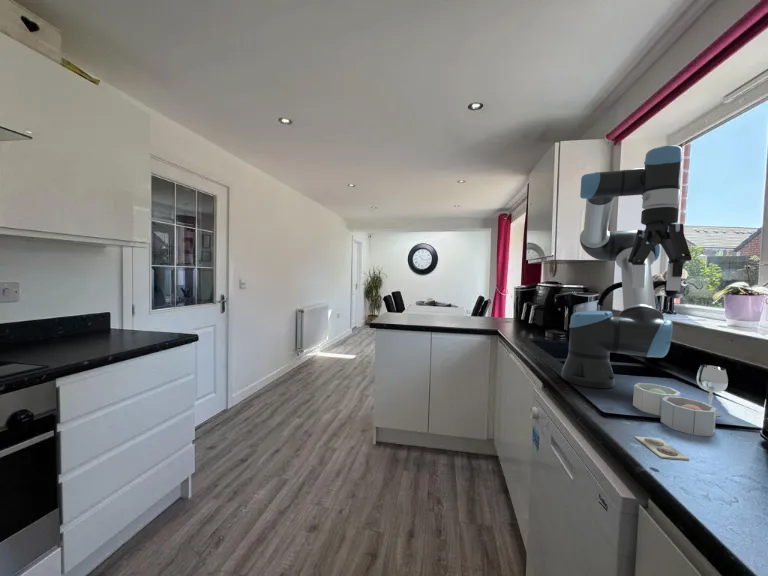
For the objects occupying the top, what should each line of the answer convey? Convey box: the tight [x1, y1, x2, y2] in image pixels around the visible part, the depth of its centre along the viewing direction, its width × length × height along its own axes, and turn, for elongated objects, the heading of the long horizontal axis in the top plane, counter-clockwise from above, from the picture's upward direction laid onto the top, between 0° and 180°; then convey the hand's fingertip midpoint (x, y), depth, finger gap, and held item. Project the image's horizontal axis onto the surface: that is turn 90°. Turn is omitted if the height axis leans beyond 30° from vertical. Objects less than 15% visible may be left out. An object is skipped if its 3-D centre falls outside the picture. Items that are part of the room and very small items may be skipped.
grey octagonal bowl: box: [660, 396, 717, 437], centre depth 79 cm, size 9×9×6 cm
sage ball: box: [648, 389, 666, 394], centre depth 89 cm, size 5×5×5 cm
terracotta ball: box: [681, 404, 702, 410], centre depth 78 cm, size 5×5×5 cm
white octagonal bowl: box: [632, 382, 681, 417], centre depth 89 cm, size 9×9×6 cm
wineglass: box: [696, 364, 729, 418], centre depth 87 cm, size 6×6×12 cm
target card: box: [634, 435, 690, 461], centre depth 69 cm, size 8×5×1 cm, turn 174°
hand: (654, 289), depth 90 cm, fingers open, 13 cm apart
